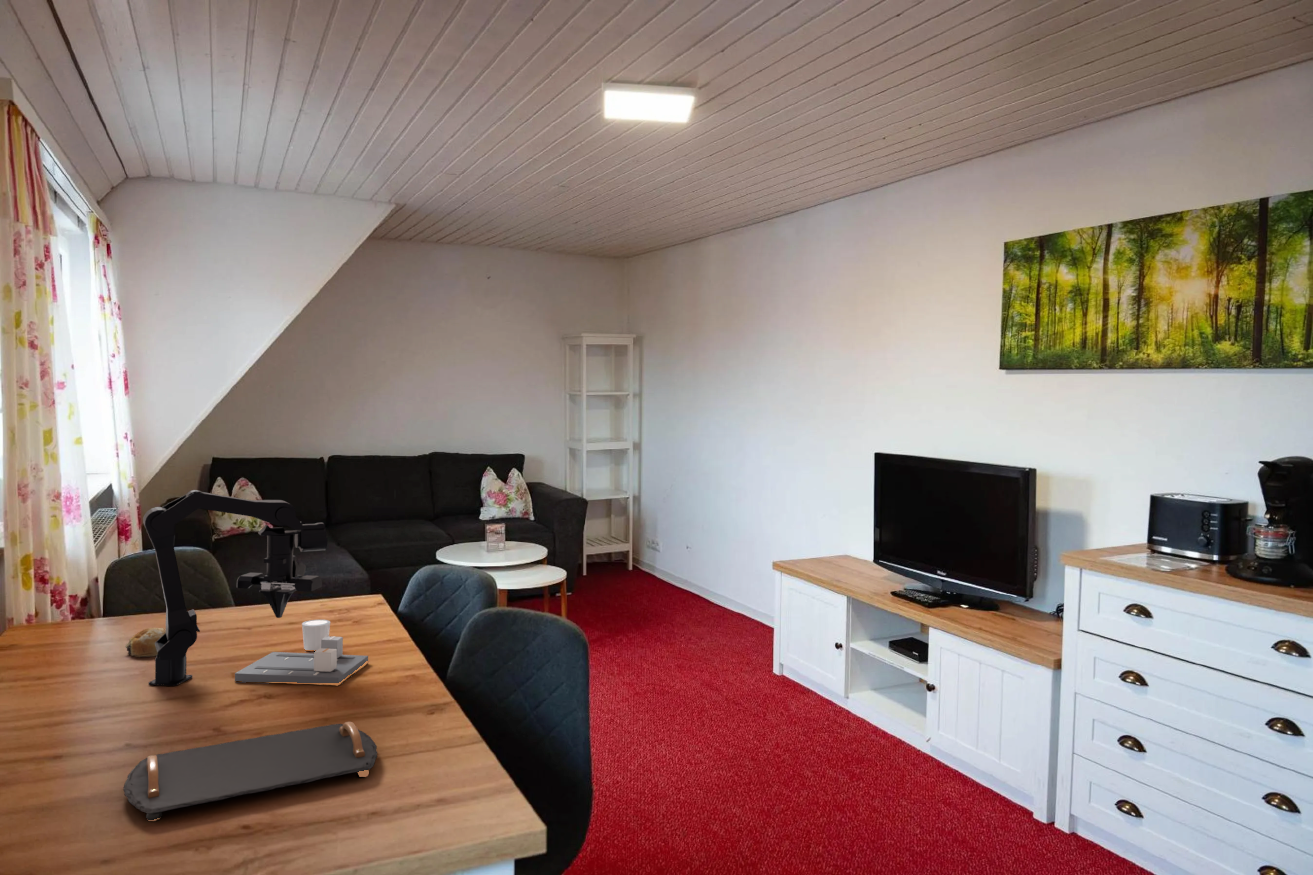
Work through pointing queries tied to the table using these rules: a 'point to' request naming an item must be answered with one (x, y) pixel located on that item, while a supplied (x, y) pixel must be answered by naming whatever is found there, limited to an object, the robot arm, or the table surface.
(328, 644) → the fader
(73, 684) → the table surface
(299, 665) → the console
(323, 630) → the white cup
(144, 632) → the bread roll
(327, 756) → the serving board
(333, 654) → the block
